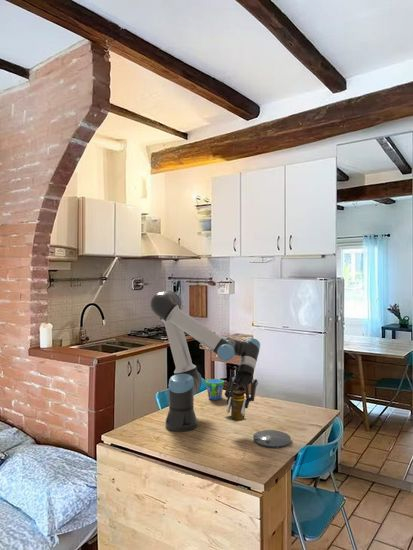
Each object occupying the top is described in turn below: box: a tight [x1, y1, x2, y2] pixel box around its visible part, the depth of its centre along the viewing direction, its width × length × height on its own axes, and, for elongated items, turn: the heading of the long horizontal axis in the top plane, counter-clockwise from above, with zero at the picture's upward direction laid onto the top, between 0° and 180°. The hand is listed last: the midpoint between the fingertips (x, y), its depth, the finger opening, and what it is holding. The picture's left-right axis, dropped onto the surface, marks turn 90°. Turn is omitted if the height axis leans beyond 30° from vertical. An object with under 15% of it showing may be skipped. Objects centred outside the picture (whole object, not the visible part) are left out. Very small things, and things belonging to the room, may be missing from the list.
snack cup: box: [205, 378, 225, 401], centre depth 244 cm, size 16×10×10 cm
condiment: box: [223, 390, 249, 423], centre depth 189 cm, size 7×8×12 cm
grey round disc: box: [252, 429, 292, 449], centre depth 183 cm, size 16×16×4 cm
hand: (235, 412), depth 186 cm, fingers closed on condiment, 6 cm apart
